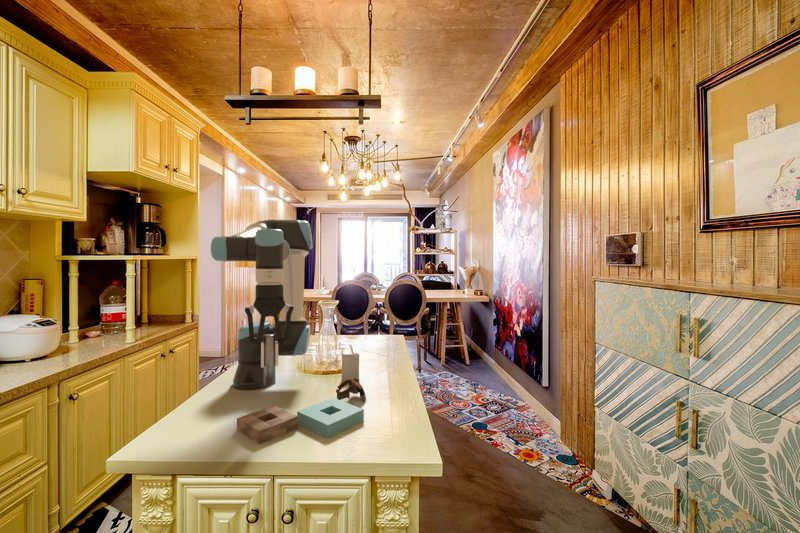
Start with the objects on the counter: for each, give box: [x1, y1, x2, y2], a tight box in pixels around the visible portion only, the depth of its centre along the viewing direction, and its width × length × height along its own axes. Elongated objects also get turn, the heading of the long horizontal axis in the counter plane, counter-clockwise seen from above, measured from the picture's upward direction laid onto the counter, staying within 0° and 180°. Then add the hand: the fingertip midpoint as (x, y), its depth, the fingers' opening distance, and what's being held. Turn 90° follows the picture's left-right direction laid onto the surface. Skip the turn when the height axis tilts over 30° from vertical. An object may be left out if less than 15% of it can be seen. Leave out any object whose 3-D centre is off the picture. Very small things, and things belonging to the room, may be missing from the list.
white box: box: [341, 353, 360, 381], centre depth 154 cm, size 4×7×10 cm, turn 95°
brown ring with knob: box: [335, 378, 367, 403], centre depth 133 cm, size 12×10×8 cm
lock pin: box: [264, 334, 276, 387], centre depth 109 cm, size 3×3×14 cm
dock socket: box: [296, 397, 365, 438], centre depth 115 cm, size 14×14×4 cm
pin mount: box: [236, 405, 299, 444], centre depth 110 cm, size 12×12×4 cm
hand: (269, 365), depth 109 cm, fingers closed on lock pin, 3 cm apart
